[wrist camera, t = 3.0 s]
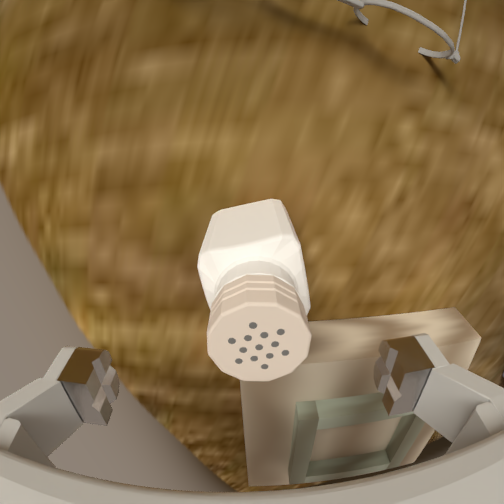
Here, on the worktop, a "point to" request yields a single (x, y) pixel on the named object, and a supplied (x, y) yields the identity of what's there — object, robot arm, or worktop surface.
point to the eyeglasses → (450, 54)
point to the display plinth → (342, 402)
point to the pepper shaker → (255, 292)
